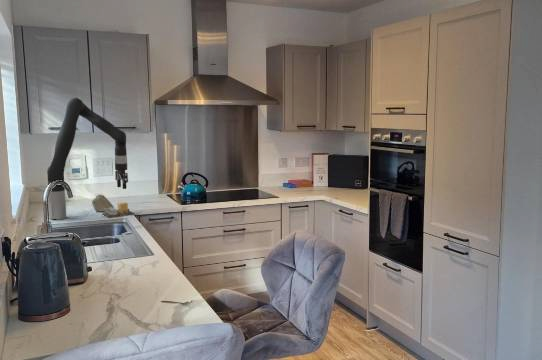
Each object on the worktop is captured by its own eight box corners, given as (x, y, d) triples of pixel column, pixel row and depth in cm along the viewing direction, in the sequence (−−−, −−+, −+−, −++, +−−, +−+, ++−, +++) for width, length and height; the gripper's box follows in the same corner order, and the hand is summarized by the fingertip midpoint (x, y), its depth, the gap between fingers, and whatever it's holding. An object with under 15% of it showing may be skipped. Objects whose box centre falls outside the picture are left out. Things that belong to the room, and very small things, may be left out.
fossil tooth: (112, 214, 325) (89, 211, 326) (115, 211, 331) (93, 209, 332) (112, 197, 322) (90, 194, 323) (116, 195, 329) (94, 192, 329)
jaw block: (120, 213, 316) (120, 204, 315) (118, 212, 319) (117, 202, 318) (127, 212, 318) (127, 203, 317) (125, 211, 322) (124, 202, 321)
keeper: (110, 215, 309) (110, 210, 308) (104, 212, 316) (104, 208, 316) (117, 214, 311) (117, 209, 311) (111, 211, 319) (111, 207, 319)
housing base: (108, 218, 308) (108, 213, 307) (102, 215, 316) (102, 210, 315) (133, 214, 318) (132, 209, 317) (126, 211, 326) (126, 207, 325)
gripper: (110, 161, 317) (111, 187, 319) (119, 163, 306) (120, 190, 309) (122, 161, 322) (123, 186, 324) (131, 163, 311) (132, 188, 313)
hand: (121, 188), depth 316 cm, fingers open, 8 cm apart
